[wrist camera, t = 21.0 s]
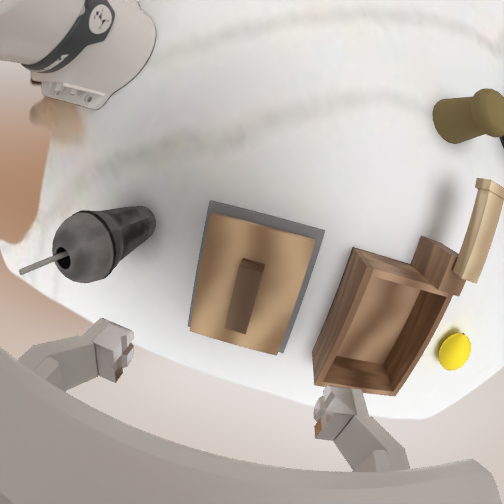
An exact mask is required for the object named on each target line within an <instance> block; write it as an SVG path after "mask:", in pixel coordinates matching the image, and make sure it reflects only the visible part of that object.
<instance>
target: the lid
mask: <svg viewBox="0 0 504 504" xmlns="http://www.w3.org/2000/svg"><path fill="white" fill-rule="evenodd" d="M314 245H315V239H312V238H308V237H305V236H301V235H297V234H294V233H290V232H286V231H283V230H279V229H275V228H271V227H268V226H264V225H260V224H256V223H253V222H249V221H245V220H241V219H237V218H233V217H229V216H225V215H221V214H217V213H212V214H210V219H209V224H208V229H207V234H206V239H205V245H204V250H203V255H202V261H201V266H200V272H199V277H198V283H197V289H196V295H195V301H194V307H193V313H192V320H191V326H190V331H192V332H195V333H198V334H201V335H204V336H207V337H211V338H214V339H217V340H221V341H224V342H228V343H231V344H235V345H238V346H242V347H245V348H249V349H253V350H257V351H261V352H265V353H269V354H273V355H277V353H278V351H279V348H280V345H281V343H282V340H283V337H284V335H285V332H286V329H287V326H288V323H289V321H290V318H291V315H292V312H293V309H294V306H295V303H296V300H297V297H298V295H299V292H300V289H301V286H302V283H303V280H304V276H305V273H306V270H307V267H308V264H309V261H310V258H311V255H312V251H313V248H314Z"/></svg>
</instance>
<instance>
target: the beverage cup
mask: <svg viewBox="0 0 504 504" xmlns="http://www.w3.org/2000/svg"><path fill="white" fill-rule="evenodd" d="M154 230H155V218H154V215H153V214H152V212H151V211H150V210H149V209H147V208H146V207H143V206H137V207H125V208H118V209H111V210H104V211H79V212H77V213H75V214H73V215H72V216H71V217H69V218H68V219H66V220H65V221H64V222H63V223H62V224H61V226H60V227H59V228H58V230H57V232H56V234H55V237H54V240H53V248H52V251H53V256H52V257H49V258H47V259H44V260H41V261H39V262H37V263H34V264H32V265H29V266H27V267H24V268H22V269H20V270H19V273H20V275H23V274H25V273H28V272H30V271H32V270H35V269H37V268H39V267H42V266H44V265H47V264H49V263H51V262H54V261H55V264H56V266H57V267H58V269H59V270H60V271H61V273H62V274H63V275H64V276H65V277H67V278H69V279H70V280H72V281H75V282H80V283H90V282H93V281H97V280H100V279H104V278H106V277H107V276H108V275H109V274H110V273H111V272H112V270H113V269H114V268H115V267H116V266H117V264H118V263H119V261H120V260H122V259H123V258H124V257H125V256H127V255H128V254H129V253H130V252H132V251H133V250H134V249H135V248H137V247H138V246H139V245H140V244H142V243H143V242H144V241H145V240H147V239H148V238H149V237H150V236H151V235H152V234H153V232H154Z"/></svg>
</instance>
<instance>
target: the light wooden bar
mask: <svg viewBox="0 0 504 504" xmlns="http://www.w3.org/2000/svg"><path fill="white" fill-rule="evenodd" d="M475 187H476V188H477V189H478V193H477V197H476V201H475V205H474V208H473V212H472V215H471V219H470V222H469V226H468V229H467V232H466V235H465V238H464V241H463V244H462V247H461V250H460V253H459V256H458V258H457V261H456V264H455V266H454V269H453V272H454V273H455V274H457V275H458V276H459V277H461V278H462V279H465V280H468V281H471V282H473V283H476V284H477V281H478V279H479V276H480V274H481V271H482V269H483V266H484V263H485V261H486V258H487V255H488V252H489V249H490V246H491V243H492V240H493V237H494V234H495V230H496V227H497V224H498V220H499V216H500V213H501V209H502V205H503V200H504V188H503V187H502V186H500V185H498V184H497V183H495V182H494V181H492V180H488V179H481V178H477V180H476V185H475Z"/></svg>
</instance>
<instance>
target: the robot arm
mask: <svg viewBox="0 0 504 504" xmlns="http://www.w3.org/2000/svg"><path fill="white" fill-rule="evenodd" d="M155 38H156V29H155V25H154V22H153V21H152V19H151V18H150V17H149V16H148V15H147V14H145V13H144V12H142V11H141V10H140V6H139V3H138V2H137V1H136V0H0V60H3V61H11V62H17V63H21V64H22V65H23V66H24V67H25V68H27V69H28V70H30V71H31V78H32V80H33V81H38V82H42V85H41V88H42V94H43V95H44V96H47V97H50V98H54V99H58V100H62V101H66V102H69V103H73V104H77V105H80V106H84V107H87V108H90V109H94V110H97V109H99V108H101V107H102V106H103V105H104V103H105V102H106V101H107V100H108V98H109V97H110V96H111V94H113V93H114V92H115V91H117V90H118V89H120V88H121V87H123V86H124V85H125V84H127V83H128V82H129V81H130V80H132V79H133V78H134V77H135V76H136V75H137V73H138V72H139V71H140V70H141V69H142V67H143V66H144V65H145V63H146V61H147V60H148V58H149V56H150V54H151V52H152V49H153V47H154V43H155ZM91 98H92V100H91ZM90 100H91V102H90ZM133 339H134V332H133V331H132V330H130V329H127V328H125V327H123V326H120V325H118V324H116V323H114V322H111V321H109V320H106V319H104V318H101V319H99V320H98V321H97V322H96V323H95V324H94V325H93V326H92V327H91V328H90V329H89V330H88V331H87V332H86V333H84V334H83V335H82V336H74V337H70V338H65V339H61V340H56V341H52V342H47V343H43V344H38V345H34V346H33V347H31V348H30V349H29V350H28V351H27V352H26V353H24V355H22V356H21V357H20V358H19V359H18V360H17V359H15V358H14V357H13V356H12V355H10V354H9V353H8V352H7V351H5V350H4V349H3V348H2V347H0V504H502V503H501V500H500V496H499V492H498V489H497V486H496V483H495V480H494V478H493V476H492V474H491V473H490V472H489V471H488V470H487V469H485V468H484V467H483V466H482V465H480V464H479V463H478V462H476V461H475V460H473V459H466V460H461V461H457V462H453V463H447V464H442V465H436V466H430V467H423V468H415V469H410V466H409V462H408V459H407V455H406V452H405V449H404V448H403V447H402V446H401V445H400V444H399V443H398V442H397V441H396V440H395V439H394V438H393V437H392V436H391V435H390V434H389V433H388V432H387V431H386V430H385V429H384V428H383V427H382V426H381V425H380V424H379V423H377V421H375V419H374V418H373V417H369V415H368V411H367V407H366V403H365V400H364V396H363V392H362V390H361V389H355V388H346V387H339V386H332V385H327V386H326V387H325V389H324V391H323V394H324V396H322V397H320V398H319V399H318V401H317V402H316V405H315V408H314V419H315V420H316V421H317V423H316V425H315V426H314V427H315V438H316V439H324V440H332V441H334V443H335V444H336V445H337V447H338V449H339V450H340V452H341V453H342V455H343V456H344V457H345V459H346V461H347V462H348V463H349V465H350V466H351V468H352V469H353V471H352V472H329V471H313V470H302V469H301V470H300V469H292V468H284V467H276V466H270V465H263V464H257V463H252V462H247V461H241V460H237V459H233V458H228V457H224V456H220V455H216V454H212V453H208V452H205V451H201V450H198V449H194V448H191V447H188V446H184V445H181V444H178V443H175V442H172V441H170V440H166V439H164V438H161V437H158V436H156V435H153V434H150V433H148V432H145V431H143V430H140V429H138V428H136V427H133V426H131V425H128V424H126V423H124V422H122V421H120V420H117V419H115V418H113V417H111V416H109V415H107V414H104V413H103V412H100V411H99V410H97V409H95V408H93V407H91V406H89V405H87V404H85V403H83V402H82V401H80V400H78V399H76V398H74V397H73V396H71V395H69V394H68V393H66V390H68V389H71V388H73V387H75V386H77V385H79V384H82V383H84V382H87V381H89V380H91V379H93V378H96V377H98V375H99V376H101V377H103V378H106V379H108V380H110V381H113V382H115V383H116V382H117V380H118V379H119V378H120V376H121V375H122V373H123V369H122V368H124V367H127V366H128V365H129V363H130V362H131V359H132V356H133V351H134V346H133V345H132V343H131V342H132V340H133Z"/></svg>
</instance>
